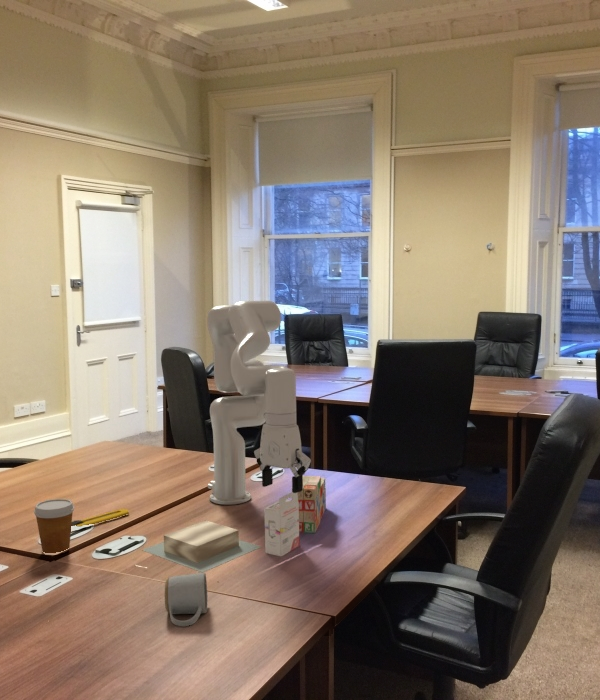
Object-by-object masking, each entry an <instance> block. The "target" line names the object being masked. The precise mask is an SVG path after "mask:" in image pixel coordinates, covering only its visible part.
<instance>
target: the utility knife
mask: <svg viewBox="0 0 600 700" xmlns="http://www.w3.org/2000/svg"><path fill="white" fill-rule="evenodd" d="M126 514H129V515H130V511H129V509H125V508H120V509H116V510H112V511H108V512H105V513H102V514H98V515H95V516H91V517H88V518H84V519H83V518H82V519H79V520H72V525H71V526H75V525H77V526H82V525H89V524H95V523H99V522H102V521H106V520H110V519H113V518H117V517H120V516H123V515H126Z"/></svg>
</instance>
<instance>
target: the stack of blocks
mask: <svg viewBox="0 0 600 700" xmlns="http://www.w3.org/2000/svg"><path fill="white" fill-rule="evenodd" d="M297 493H298V502H299V533H300V534H301V533H303V534H304V533H305V534H307V533H308V534H316V532H317V530H318V528H319V526H320V523H321V520H322V517H323V515H324V513H325V511H326V508H327V502H326V501H327V495H326V494H327V490H326V477H322V476H321V475H303V490H302V491H300V492H297Z"/></svg>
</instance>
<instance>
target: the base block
mask: <svg viewBox="0 0 600 700" xmlns="http://www.w3.org/2000/svg"><path fill="white" fill-rule="evenodd" d="M239 533H240V530H239V529H236V528H232V527H229V526H227V525H222V524H220V523H216V522H213V521H209V520H207V519H206V520H202V521H200V522H196V523H195V524H191V525H188V526H185V527H182V528H180V529H177V530H174V531H172V532H168V533H166V534H163V542H164V551H165V552H168V553H171V554H174V555H177V556H179V557H182V558H185V559H188V560H191V561H193V562H196V563H198V562H201V561H203V560H206V559H208V558H210V557H213V556H215V555H218V554H220V553H222V552H225V551H227V550H230V549H232V548H234V547H237V546H239V540H240V537H239V536H240V534H239Z"/></svg>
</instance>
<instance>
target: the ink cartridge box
mask: <svg viewBox="0 0 600 700" xmlns="http://www.w3.org/2000/svg"><path fill="white" fill-rule="evenodd" d="M290 499H291V500H290ZM263 510H264V511H263V512H264V542H265V545H264V546H265V548H264V549H265V554H269V555H272V556H273V555H274V556H278V557H283V556H285V555H286V554H288V553H289V552H291V551H293V550H294V549H296V548H297V547H299V546H300V532H299V502H298V493H293V492H292V491H291V492H289V493H287V494H285V495H283V496H281V497H279V498H278V501H276V502H274V503H272V504H270V505H268V506H266V507H263Z"/></svg>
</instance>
